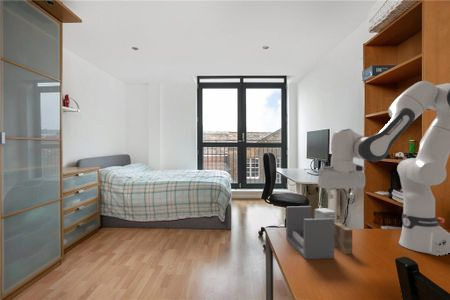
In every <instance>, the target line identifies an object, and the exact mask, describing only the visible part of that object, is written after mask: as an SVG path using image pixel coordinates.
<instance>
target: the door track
mask: <svg viewBox="0 0 450 300" xmlns="http://www.w3.org/2000/svg"><path fill="white" fill-rule="evenodd" d="M285 212H286V214H285V216H286V217H285V219H286V220H285V228H286V229H285V234H286V235H285V239H286V240H287V241H288V243H290V245H292V247H293V248H294V249H295V250H296V251H297V252H298V253H299V254H300V255H301V256H302V257H303V259H304V258H305V259H304V260H314V259H315V260H316V259H319V260H320V259H334V258H335V246H334V219H333V218H315V217H314V218H313V217H312V215H313V213H312V212H313V207H312V206H311V205H299V206H297V205H296V206H293V205H291V206H286V207H285Z"/></svg>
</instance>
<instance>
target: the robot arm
mask: <svg viewBox="0 0 450 300" xmlns="http://www.w3.org/2000/svg"><path fill="white" fill-rule="evenodd" d="M426 110H428V111H436V116H435V117H434V120H432V122H431V124H429V127H428V128H427V130H426V131H425V133H424V134H423V136H422V138H421V139H420V141H419V148H418V152H417V155H416V157H415V158H414V157H410V158H409V157H408V158H406V159H403V160H401V161H400V162H399V163H398V165H397V168H396V171H397V173H398V176H399V180H400V185H401V189H402V196H403V208H402V209H403V212H402V214H401V221H402V227H401V233H400V237H399V241H398V244H399V245H400V246H401V247H404V248H406V249H408V250H410V251H416V252H418V253H419V252H420V253H424V254H430V255H433V256H436V257H437V256H439V255H440V256H445V254H446V255H449V254H448V253H450V232H448V231H447V230H446V229H444V227H442V226H440V224H439V223H441V224H443V223H445V221H446V219H445V218H443V217H439V216H438V217H437V216H436V198H435V196H434V194H433V192H432V189H431V187H432V186H437V185H440V184H442V183H443V182H444V181H445V180H446V178H447V174H448V173H447V168H446V167H447V163H448V160H449V157H450V82H446V83H442V84H434V83H432V82H430V81H429V80H421V81H418V82H416V83H414V84H413V85H411V86H410V87H408V88H407V89H406V90H404V91H403V92H402V93H401V94H399V96H397V98H395V100H394V101H392V103H391V104H390V106H389V107H388V109H387V111H388V116H389V117H390V120H389V121H388V122H387V123H386V124H385V125H384V126H383V128H382V129H381V130H379V132H378V133H376V134H373V135H371V136H370V135H369V136H365V135H361V134H359V133H357V132H355V131H354V130H353V129H351V128H345V129H340V130H336V131H333V132H332V136H331V142H330V150H331V157H330V166H322V167H320V168H319V169H318V178H317V186H318V187H319V188H321V189H325V192H326V193H327V198H328V199H329V200H330V199H331V200H332V199H334V194H333V193H332V192H331V191H332V189H350V190H351V191H350V193H348V196H347V197H348V198H349V199H354V198H355V194H356V193H357V191H358V190H357V189H364V188H365V186H366V173H365V172H364V171H365V170H366V169H365V166H364V165H360V164H359V163H358V164H357V163H355V162H354V159H359V160H365V161H368V162H372V163H377V162H378V163H379V162H380V161H383V160H384V159H385V158H386V157H387V156H388V154H389V153H390V150H391V148H392V146H393V144H395V142H396V141H397V140H398V138H399V137H401V136H402V134H403V133H404V132H405V131H407V129H408V128H409V127H410V126H411V124H412V123H413V122H414V121H415V120H416V119H417V118H419V116H421V115H422V114H423V113H424V112H425V111H426Z"/></svg>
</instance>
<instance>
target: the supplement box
mask: <svg viewBox="0 0 450 300" xmlns="http://www.w3.org/2000/svg"><path fill="white" fill-rule="evenodd" d="M336 215H337V214H336V211H335V210H332V209H330V208H325V207H321V208H320V207H319V208H314V218H333V219H334V221H336V217H337V216H336Z"/></svg>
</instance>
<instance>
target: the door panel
mask: <svg viewBox="0 0 450 300" xmlns="http://www.w3.org/2000/svg"><path fill="white" fill-rule="evenodd" d="M334 248H336V249H338V250H339V251H340V252H342V253H343V254H345V255H353V229H351V228H350V227H348V226H346V225H344V224H343V223H341V222H339V221H334Z"/></svg>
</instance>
